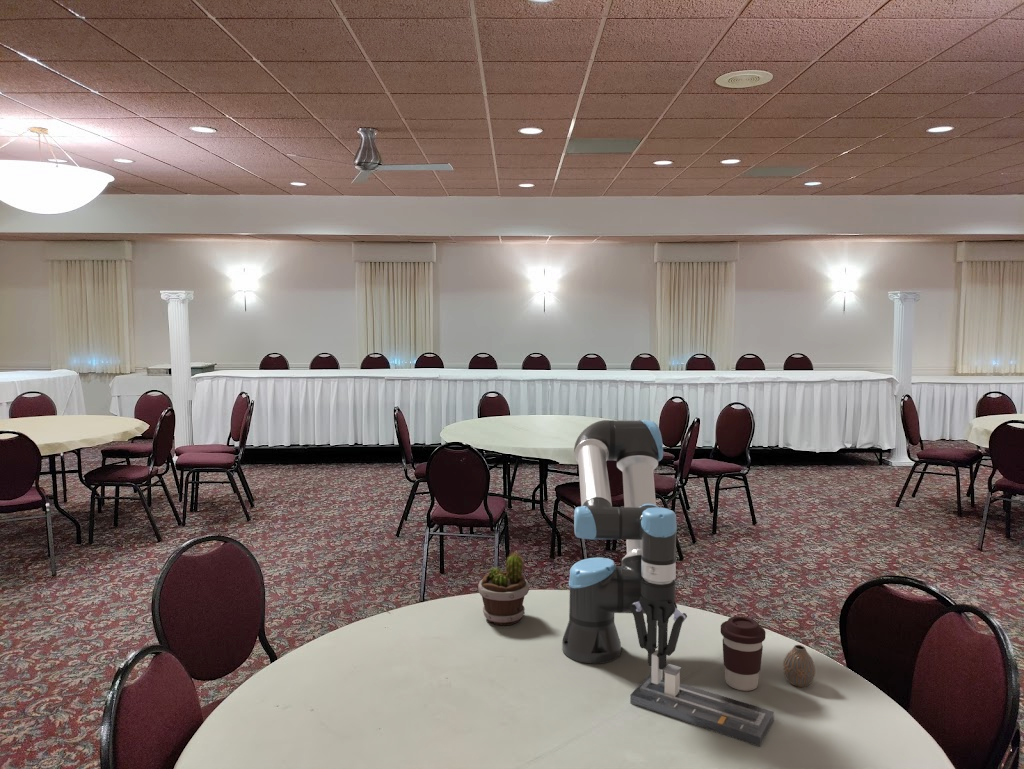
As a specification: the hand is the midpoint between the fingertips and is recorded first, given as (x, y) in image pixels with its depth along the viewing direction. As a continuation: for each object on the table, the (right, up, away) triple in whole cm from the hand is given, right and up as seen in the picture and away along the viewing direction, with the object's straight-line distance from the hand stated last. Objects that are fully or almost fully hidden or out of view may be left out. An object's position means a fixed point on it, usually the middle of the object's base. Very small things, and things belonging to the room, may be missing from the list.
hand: (656, 680), depth 152 cm
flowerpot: (-35, -1, +43) cm, 55 cm away
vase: (+35, -4, +7) cm, 36 cm away
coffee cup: (+21, -4, +7) cm, 23 cm away
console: (+8, -5, -5) cm, 11 cm away
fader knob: (+3, -2, -2) cm, 4 cm away
